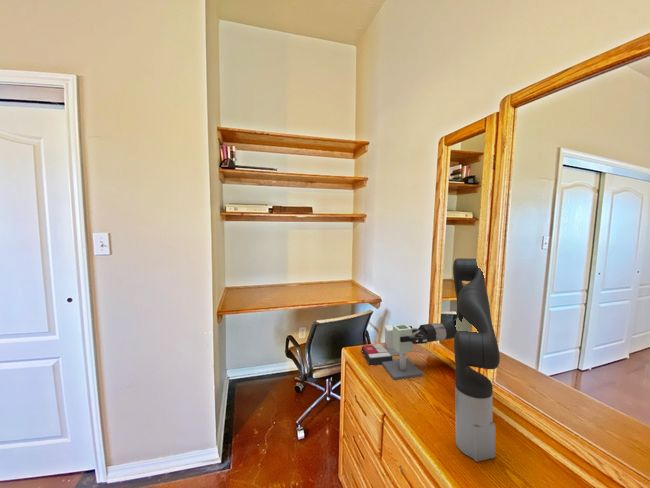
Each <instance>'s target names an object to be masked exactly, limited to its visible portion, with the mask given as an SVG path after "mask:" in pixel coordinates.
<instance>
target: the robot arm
mask: <svg viewBox="0 0 650 488" xmlns="http://www.w3.org/2000/svg"><path fill="white" fill-rule="evenodd" d="M476 259H477V258H455V259H454V261H453V264H452V275H453V276H452V277H453V285H454V291H455V297H456V316H457V318H459V320H460V321H461V322H462V319H463V317H464V318H465V319H466V320H467V321H468V322H469V323H470V324H472V325H473V326H474V327H475V328H476V329H477V331H478V333H477V332H468V331H457V330H456V327H455V325H456V318H454V319H452V320H449V321H447V322H440V323H439V322H438V323H437V322H435V323H425V324H420V325H419V326H418V328H415V327H414V328H413V326H412V325H408V326H409V327H410V328H411V329H412V335H410V336H404V337H400V342H412V345H422V344H428V343H434V342H440V341H443V340H450V339H451V340H452V339H453V349H454V351H453V352H454V364H455V365H454V367H455V369H454V371H455V378H454V379H455V380H454V382H455V383H454V386H455V389H454V390H455V391H454V393H455V394H454V395H455V396H454V398H455V399H454V400H455V402H454V403H455V406H454V408H455V415H454V416H455V417H454V418H455V420H454V421H455V422H454V423H455V425H454V426H455V445H456V447H457V448H458V450H459V451H461V453H463V454H464V455H466V456H467V457H469V458H471V459H473V461H474V462H481V461H482V462H483V461H487V460H491V459H495V458H496V423H494V422H493V395H494V394H493V390H494V389H493V388H494V387H493V383H492V382H491V380H490V378H488V377H487V376H486V375H484V374H482V373H480V372H479V371H477V370H475V369H473V368H478V369H484V370H496V369H497V368H498V367H499V364H500V360H501V357H500V349H499V344H498V341H497V337H496V332H495V329H494V325H493V321H492V316H491V315H492V314H491V308H490V307H491V306H490V301H489V296H488V292H487V286H486V277H485V278H484V275H483V272H482V271H481V269H480V268H478V266H477V262H476ZM463 282H467V284H465V285H464V284H463Z"/></svg>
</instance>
